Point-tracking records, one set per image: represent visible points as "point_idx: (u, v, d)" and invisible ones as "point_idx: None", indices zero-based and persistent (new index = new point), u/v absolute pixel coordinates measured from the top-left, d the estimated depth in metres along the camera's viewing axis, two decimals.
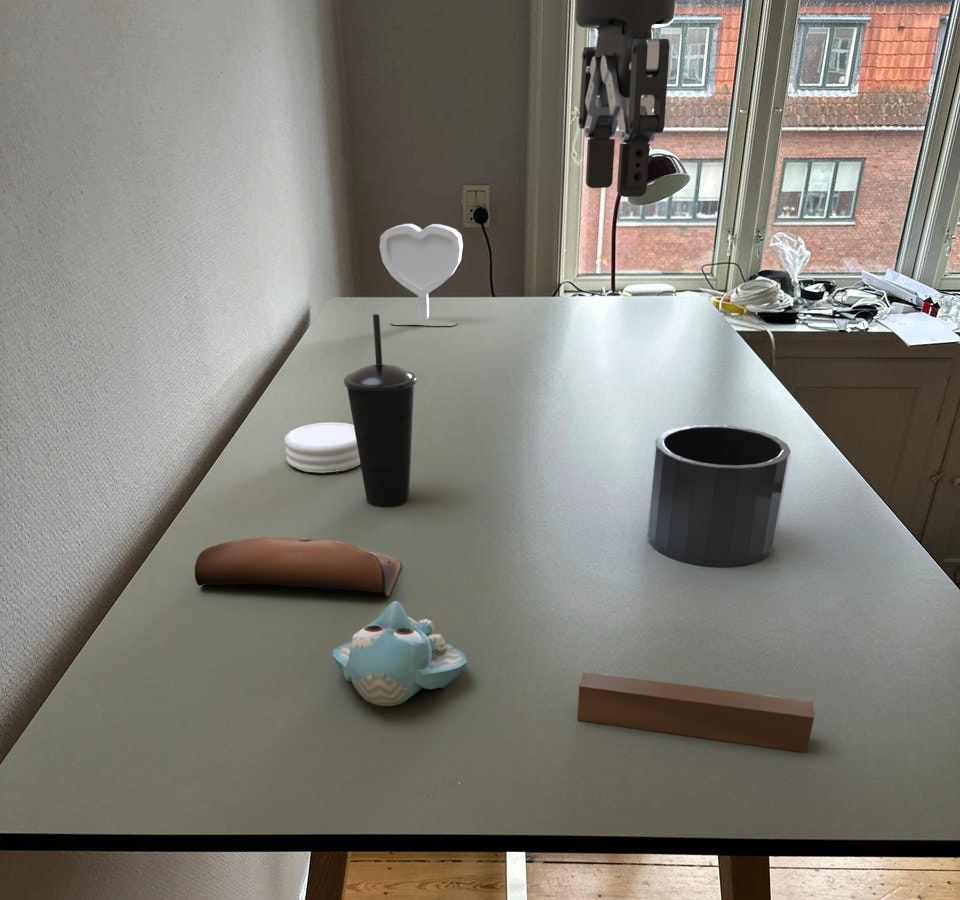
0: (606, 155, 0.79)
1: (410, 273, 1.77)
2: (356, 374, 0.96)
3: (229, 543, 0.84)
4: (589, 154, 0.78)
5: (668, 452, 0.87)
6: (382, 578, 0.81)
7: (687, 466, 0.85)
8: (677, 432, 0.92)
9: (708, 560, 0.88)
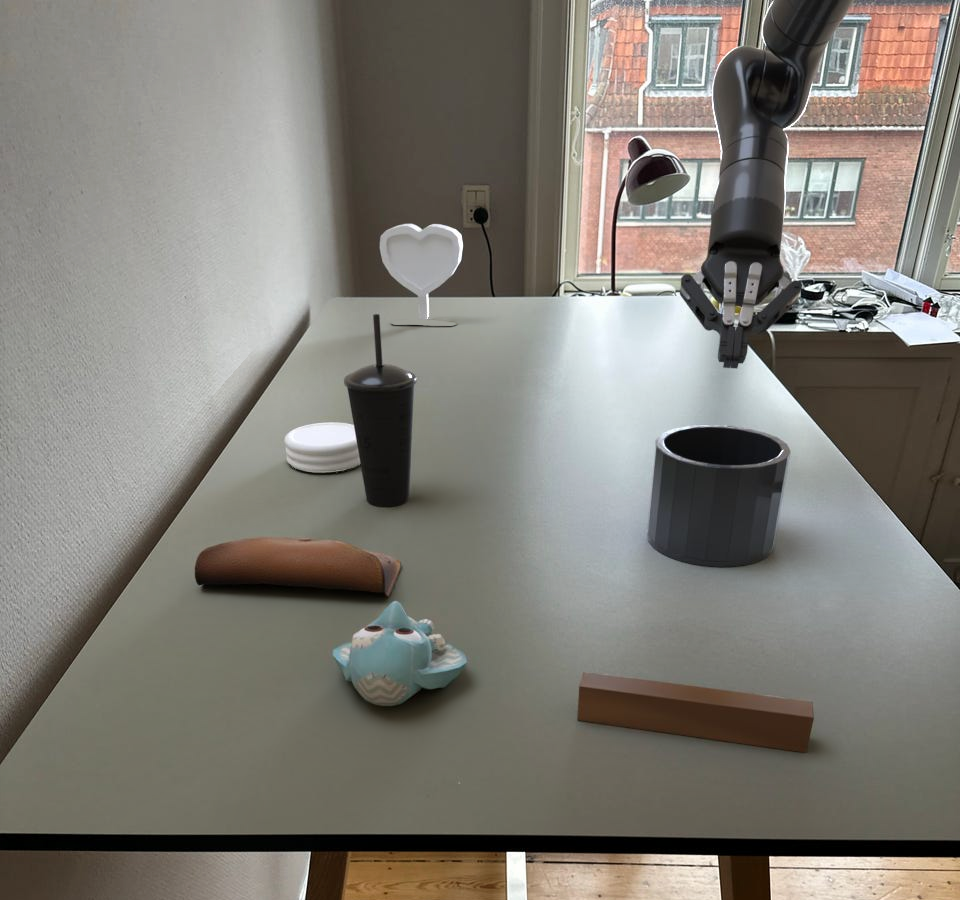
0: (734, 340, 0.95)
1: (410, 273, 1.77)
2: (356, 373, 0.96)
3: (229, 543, 0.84)
4: None
5: (668, 452, 0.87)
6: (382, 578, 0.81)
7: (687, 466, 0.85)
8: (677, 432, 0.92)
9: (708, 560, 0.88)
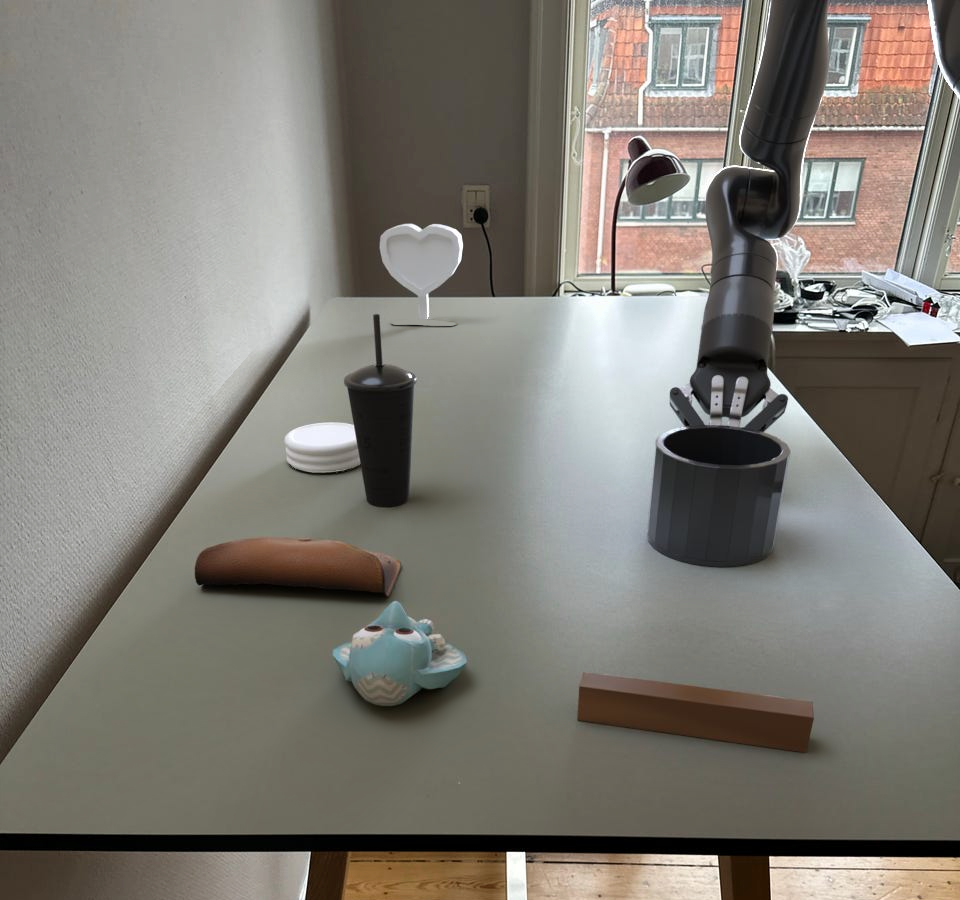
0: None
1: (410, 273, 1.77)
2: (356, 373, 0.96)
3: (229, 543, 0.84)
4: None
5: (668, 452, 0.87)
6: (382, 578, 0.81)
7: (687, 466, 0.85)
8: (677, 432, 0.92)
9: (708, 560, 0.88)
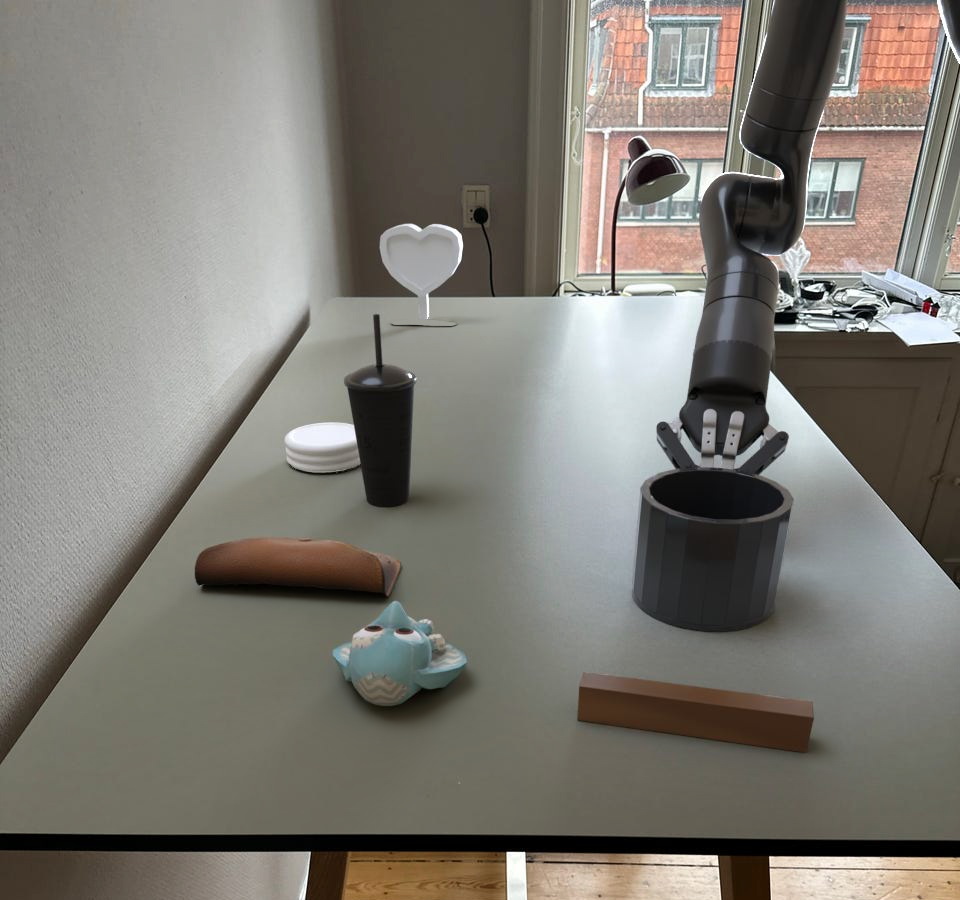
0: None
1: (410, 273, 1.77)
2: (356, 373, 0.96)
3: (229, 543, 0.84)
4: None
5: (656, 503, 0.76)
6: (382, 578, 0.81)
7: (679, 520, 0.74)
8: (664, 476, 0.82)
9: (703, 624, 0.77)
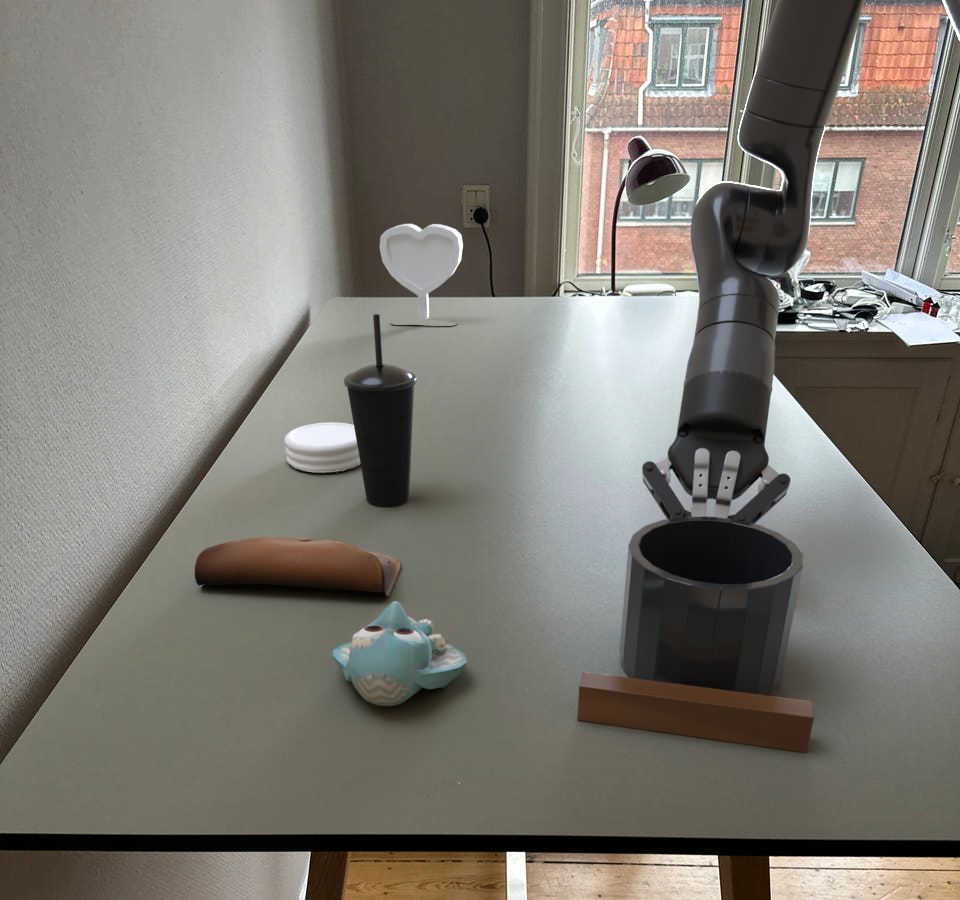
0: None
1: (410, 273, 1.77)
2: (356, 373, 0.96)
3: (229, 543, 0.84)
4: None
5: (650, 566, 0.66)
6: (382, 578, 0.81)
7: (679, 587, 0.64)
8: (653, 529, 0.72)
9: None
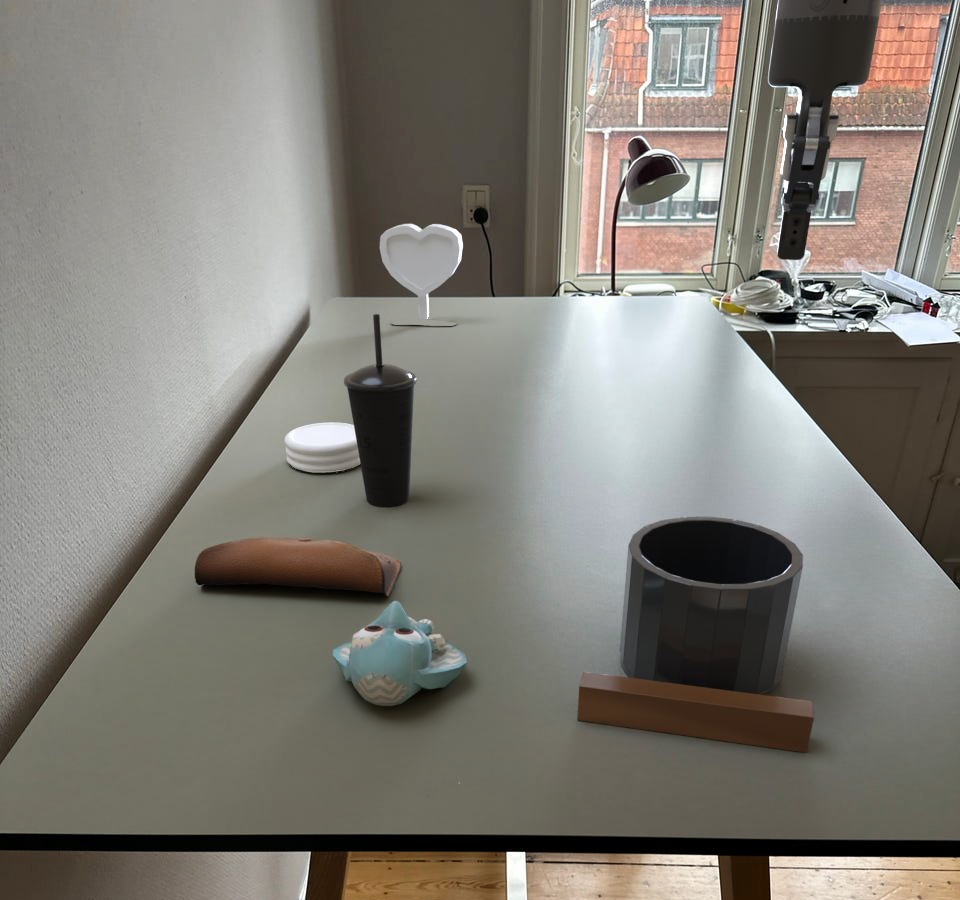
0: None
1: (410, 273, 1.77)
2: (356, 373, 0.96)
3: (229, 543, 0.84)
4: (781, 225, 0.78)
5: (650, 566, 0.66)
6: (382, 578, 0.81)
7: (679, 587, 0.64)
8: (653, 530, 0.72)
9: None
